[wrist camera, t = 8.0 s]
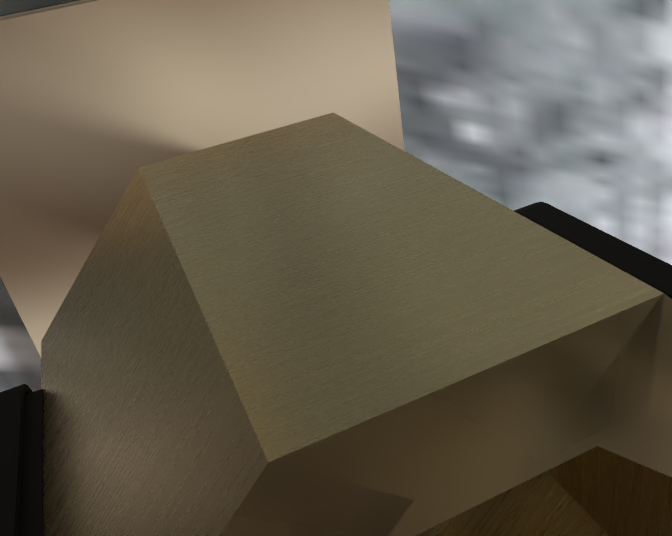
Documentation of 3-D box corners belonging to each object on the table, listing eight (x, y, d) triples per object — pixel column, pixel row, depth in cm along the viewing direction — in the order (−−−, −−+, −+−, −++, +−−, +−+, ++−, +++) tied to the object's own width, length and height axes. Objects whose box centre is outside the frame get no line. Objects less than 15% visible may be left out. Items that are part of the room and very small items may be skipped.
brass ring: (-21, 212, 8) (-131, 634, 3) (453, 78, 10) (868, 205, 5) (147, 556, 11) (225, 1014, 7) (475, 410, 13) (729, 681, 8)
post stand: (-105, 37, 12) (-286, 145, 6) (363, -59, 15) (621, -63, 8) (81, 417, 17) (101, 711, 11) (405, 297, 20) (586, 472, 13)
